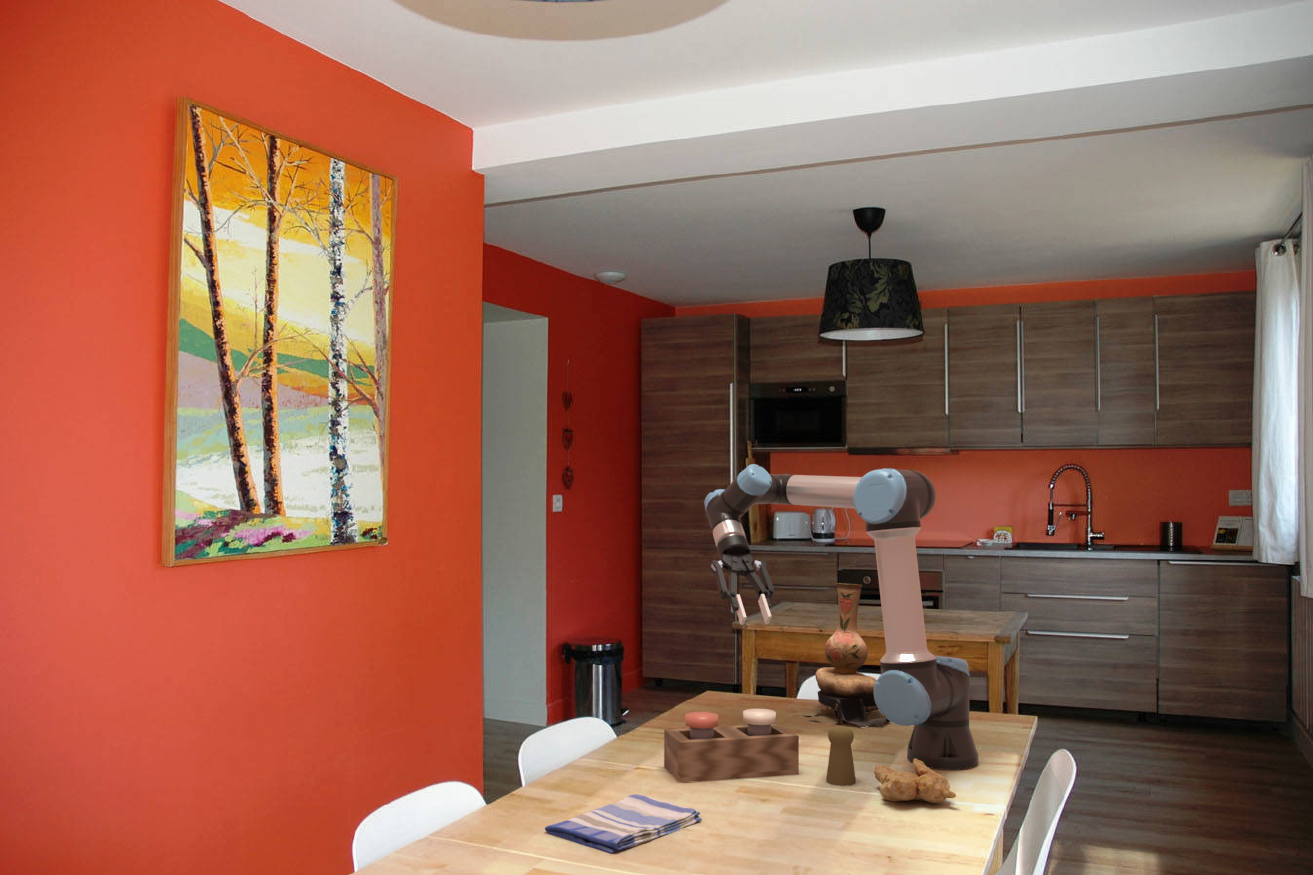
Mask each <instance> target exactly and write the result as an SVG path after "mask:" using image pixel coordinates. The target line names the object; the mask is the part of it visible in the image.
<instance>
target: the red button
mask: <svg viewBox="0 0 1313 875" xmlns="http://www.w3.org/2000/svg"><path fill="white" fill-rule="evenodd" d="M684 722H685V723H684V725H685V726H686V727H688V728H690V740H695V739H712V738H714V727H718V726H719V714H718V713H715V712H711V711H691V712H690V711H689V712H686V714H685V717H684Z"/></svg>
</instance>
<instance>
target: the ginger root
mask: <svg viewBox="0 0 1313 875" xmlns="http://www.w3.org/2000/svg"><path fill="white" fill-rule="evenodd" d="M912 764H913V769H914V772H915V773H911V772H909V771H897V770H895V769H894V768H892V767H890V766H887V765H876V766H875V769H874V772H873V774H874V778H875V779H876V780H877V782H879V783H880V784H881V786H880V787H879V793H880V795H881V797H882V798H883V799H885V800H886V801H890V802H892V803H897V802H901V801H913V800H914V801H918V800H921V801H926V802H928V803H932V804H943V803H944V801H945V800H946V799H954V798H956V796H957V795H956V793H955V792H954V791H951V786H950V783H949V780H948V777H946V776H944V775H942V774H940V773H936V772H935V771H934V769H932V768H929V767H926V765H925V764H924V763H923V762H922V761H920V760H918V759H913V763H912ZM921 801H920V802H921Z"/></svg>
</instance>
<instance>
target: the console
mask: <svg viewBox="0 0 1313 875" xmlns="http://www.w3.org/2000/svg"><path fill="white" fill-rule="evenodd" d="M663 733H664V734H663V737H664V739H663V740H664V741H663V742H664V743H663V755H664V756H663V757H664V758H663V768H664V769H665V770H667V772H668V773H669V774H670V775H671V776H673V777H674V778H675V779H676V780H677V781H678V782H679V781H680V782H684V783H690V782H689V781H698V782H707V781H708V782H710V781H723V780H725V781H726V780H735V779H738V780H739V779H750V778H762V777H763V778H764V777H779V776H780V777H781V776H795V775H799V771H800V769H799V767H800V766H799V765H800V764H799V760H800V758H799V755H800V754H799V747H800V746H799V745H800V743H799V734H796V733H795V732H793V731H791V730H789V728H787V727H784V726H783V725H781V724H779V723H777V722H776V723H774V724H771V735H762V736H748V724H739V725H724V726H723V725H721V726H719V725H718V726H717V727H714V738H712V739H695V740H690V727H688V728H687V727H686V728H685V727H684V728H668V729H664V732H663ZM680 782H679V783H680Z"/></svg>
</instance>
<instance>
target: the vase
mask: <svg viewBox="0 0 1313 875" xmlns="http://www.w3.org/2000/svg"><path fill="white" fill-rule="evenodd" d="M835 584H836V588H837V590H836V591H837V604H838V620H837V627H836V630H835V632H834V633H833V634H832V635H831V636H830V637H829V638H828V639H827V641H826V643H825V646H824V654H825V655H824V656H825V659H826V660H827V662H828V664H830V665H831V666H829V667H826V666H825V667H821V668H818V669H817V670H816V672H815V675H814V676H815V680H816V682H817V687H818V688H819V689H820V690H818V691H817V698H818V700H817V701H818V703H819V704H820V706H819V707H818V709H817V713H816V714H815V715H814V717H818V716H819V714H820V711H821V710H827V709H829V710H834V713H835V717H836V719H837V720H838V721H837V722H836V723H835V725H839V724H841V722H842V723H843V724H853V725H856V726H857V727H858V728H860V729H862V728H861V727H866V726H868V727H866V728H869V727H870V726H872V725H874V726H876V727H877V728H878V727H882V728H884V724H885V723H888V722H890V723H891V721H889V720H888V719H887V718H886V717H882V718H872V719H871V718H868V716H869V714H870V713H873V712H874V711H879V709H878V707H877V705H876V703H875V699H874V686H875V683H876V681H877V680H878V679H876V677H874V676H870V675H867V674H864V673H862V672H859V671H857V670H858V669H860V667H862V666H863V665H864V664H865V663H866V662H867V658H868V655H869V650H868V647H867V644H866V642H865V641H864V639H863V638H862V637H861V635H860V634H859V630H858V625H857V624H858V611H859V604H860V598H861V592H862V587H863V584H856V583H854V584H853V583H840V582H839V583H838V582H836V583H835ZM836 705H837V708H836ZM835 708H836V709H837V711H836V710H835ZM866 712H869V713H866ZM801 716H802V717H806V718H812V717H813V716H812V715H805V714H802V715H801ZM885 721H887V722H885ZM809 722H819V723H821V721H819V720H816V719H815V720H814V719H809Z"/></svg>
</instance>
